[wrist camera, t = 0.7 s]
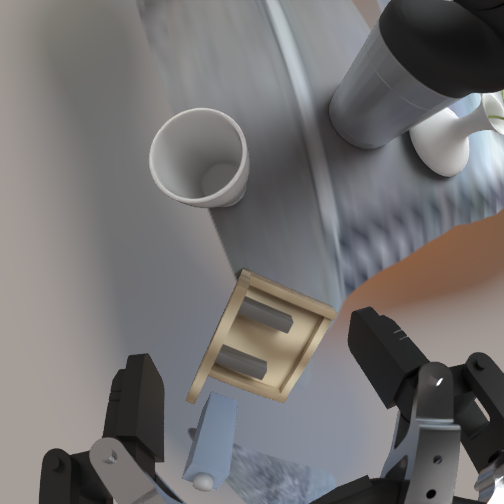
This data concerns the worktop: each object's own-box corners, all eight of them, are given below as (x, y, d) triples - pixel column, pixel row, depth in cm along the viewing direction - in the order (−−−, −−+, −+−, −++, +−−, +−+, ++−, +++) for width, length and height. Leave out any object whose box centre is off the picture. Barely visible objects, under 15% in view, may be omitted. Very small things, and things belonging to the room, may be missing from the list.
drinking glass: (202, 154, 31) (160, 104, 16) (257, 162, 31) (256, 111, 16) (191, 209, 32) (138, 197, 17) (247, 218, 31) (237, 212, 17)
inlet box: (243, 268, 32) (237, 284, 23) (332, 306, 32) (355, 333, 23) (201, 362, 33) (185, 400, 25) (282, 392, 34) (288, 435, 25)
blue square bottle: (211, 391, 34) (188, 472, 19) (238, 401, 34) (227, 484, 19) (202, 409, 34) (178, 487, 19) (227, 418, 34) (214, 498, 19)
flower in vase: (393, 103, 29) (506, 8, 4) (447, 107, 29) (554, 48, 4) (417, 193, 31) (576, 170, 6) (469, 186, 30) (598, 172, 5)
